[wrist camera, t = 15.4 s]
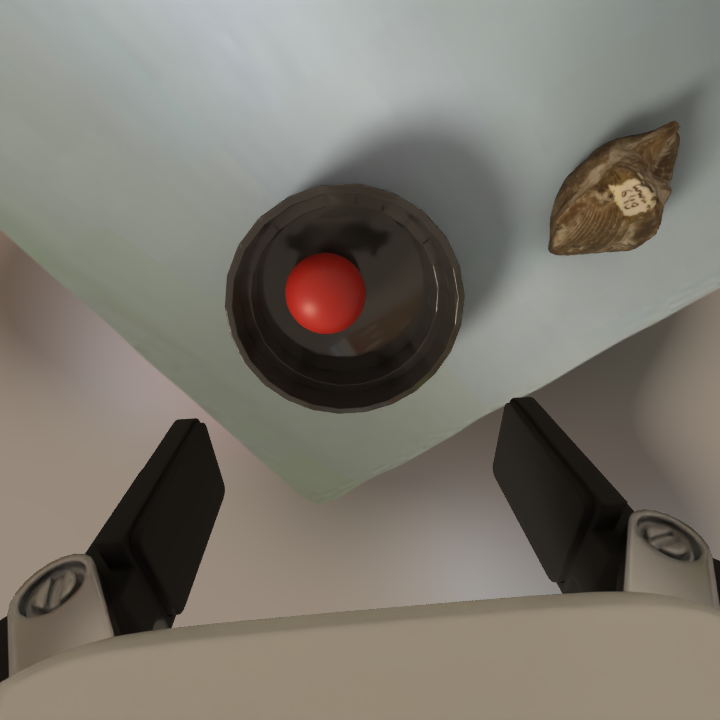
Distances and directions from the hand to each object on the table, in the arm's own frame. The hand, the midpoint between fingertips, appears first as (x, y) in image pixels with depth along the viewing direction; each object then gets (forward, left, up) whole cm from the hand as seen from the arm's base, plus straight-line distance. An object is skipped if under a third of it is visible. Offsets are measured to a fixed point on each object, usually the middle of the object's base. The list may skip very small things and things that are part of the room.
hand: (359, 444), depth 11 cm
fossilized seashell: (-20, -6, -21) cm, 30 cm away
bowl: (0, +1, -21) cm, 21 cm away
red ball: (+1, 0, -17) cm, 17 cm away
